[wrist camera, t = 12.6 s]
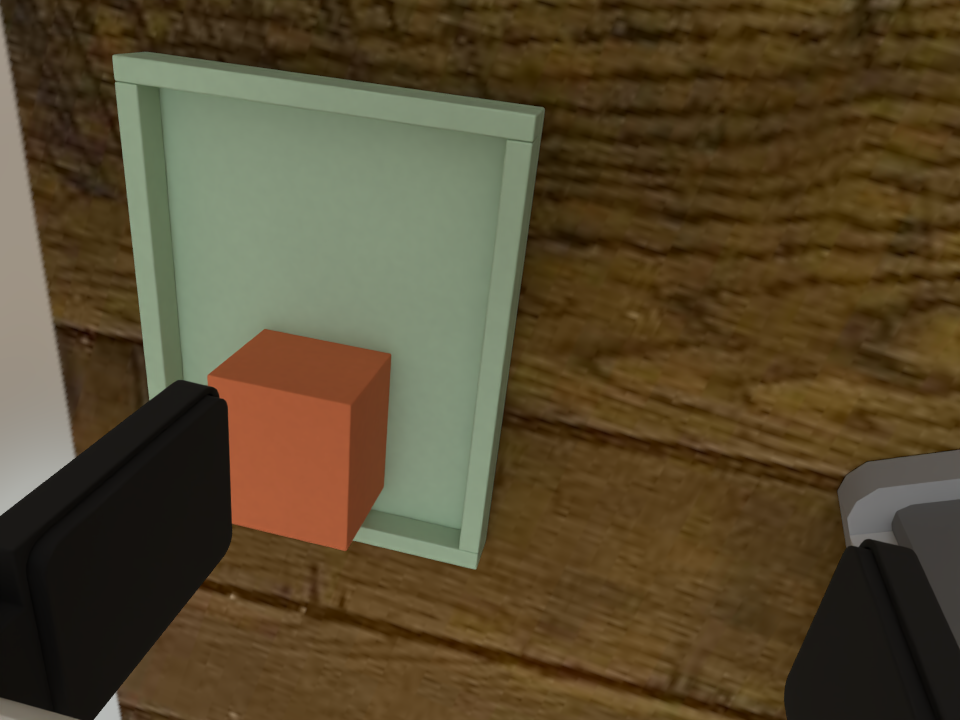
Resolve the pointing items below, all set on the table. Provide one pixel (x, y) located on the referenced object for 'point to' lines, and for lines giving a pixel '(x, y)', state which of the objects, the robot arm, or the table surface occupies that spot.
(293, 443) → the terracotta block
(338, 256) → the sage green tray
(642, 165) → the table surface
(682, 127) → the table surface
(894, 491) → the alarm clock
